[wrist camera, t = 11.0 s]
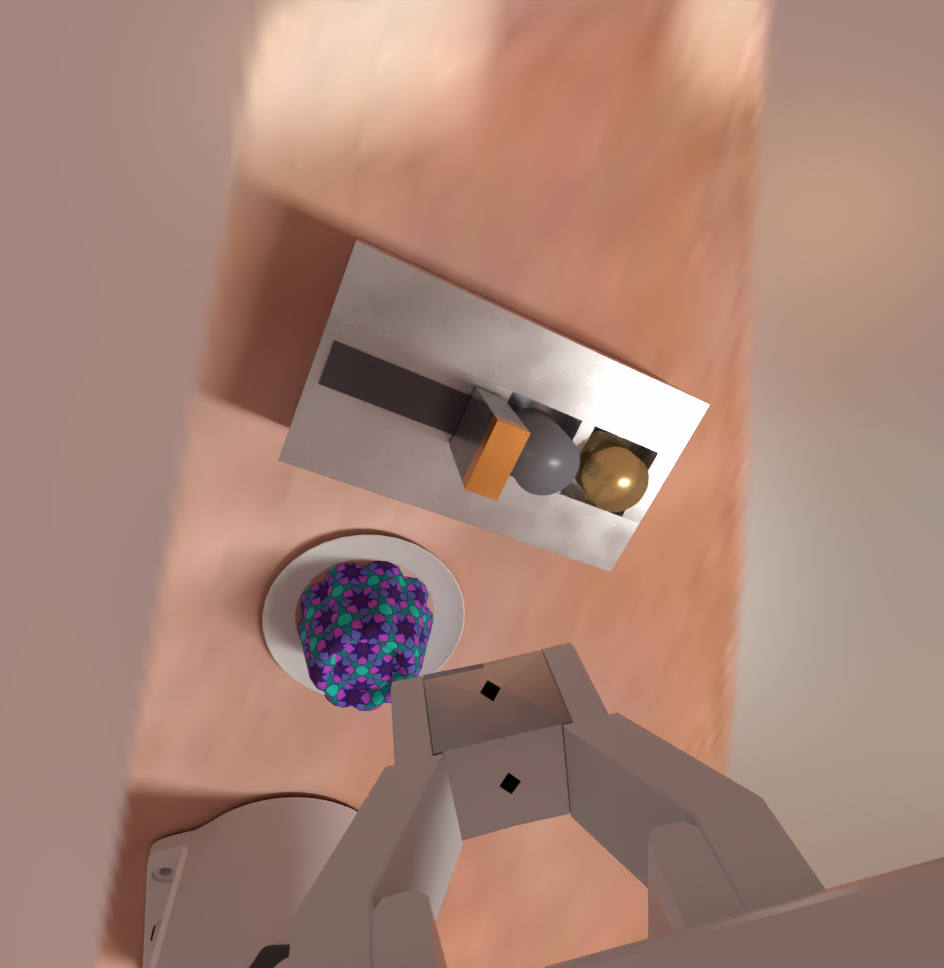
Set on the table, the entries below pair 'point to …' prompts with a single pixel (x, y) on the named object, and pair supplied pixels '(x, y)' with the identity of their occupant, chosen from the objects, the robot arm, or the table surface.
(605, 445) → the button brass
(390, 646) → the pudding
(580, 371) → the panel
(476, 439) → the slider
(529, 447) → the button slate
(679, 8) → the table surface
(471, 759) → the robot arm
